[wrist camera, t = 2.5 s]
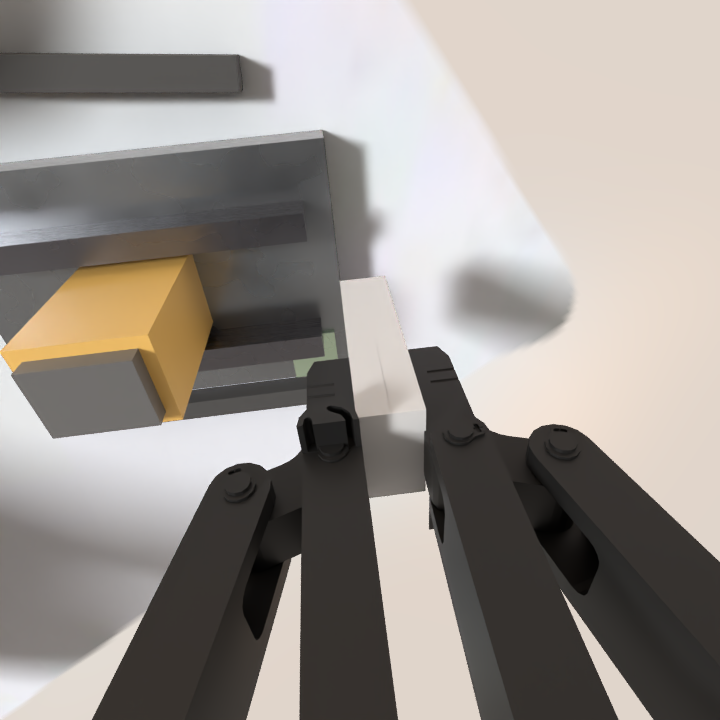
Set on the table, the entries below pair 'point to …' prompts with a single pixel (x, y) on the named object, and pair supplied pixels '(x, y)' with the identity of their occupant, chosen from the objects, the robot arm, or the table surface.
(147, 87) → the bar
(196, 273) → the toggle
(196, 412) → the dark grey long bar
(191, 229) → the panel
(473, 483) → the robot arm
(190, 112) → the table surface
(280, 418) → the table surface
